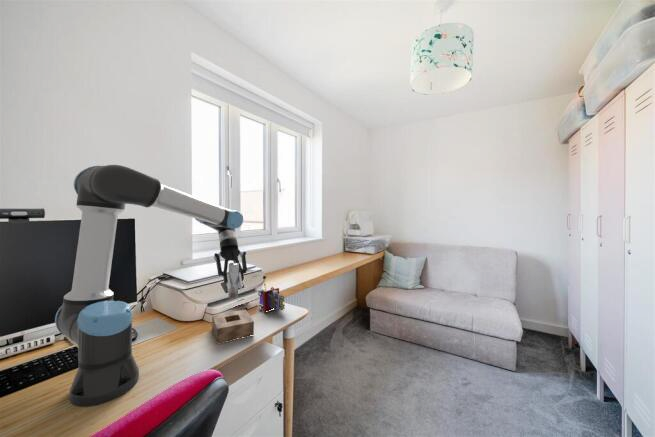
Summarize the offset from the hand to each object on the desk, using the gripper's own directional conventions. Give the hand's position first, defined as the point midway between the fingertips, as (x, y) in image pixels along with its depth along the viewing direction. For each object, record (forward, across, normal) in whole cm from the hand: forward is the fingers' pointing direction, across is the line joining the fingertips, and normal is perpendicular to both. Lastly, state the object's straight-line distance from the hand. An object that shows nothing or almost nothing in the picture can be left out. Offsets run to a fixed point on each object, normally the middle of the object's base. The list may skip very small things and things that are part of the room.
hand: (235, 288), depth 105 cm
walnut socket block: (+11, 0, -17) cm, 20 cm away
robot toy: (+1, -22, -27) cm, 35 cm away
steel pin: (+1, 0, -6) cm, 6 cm away
